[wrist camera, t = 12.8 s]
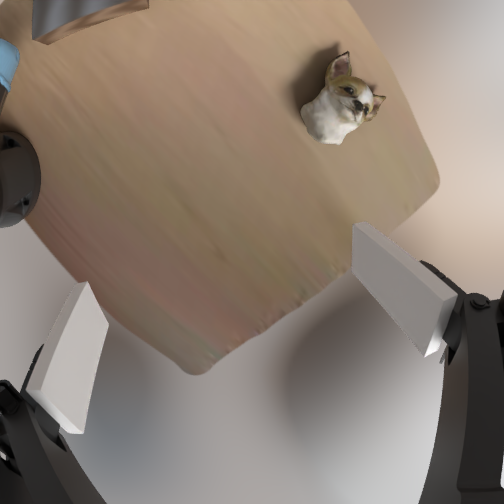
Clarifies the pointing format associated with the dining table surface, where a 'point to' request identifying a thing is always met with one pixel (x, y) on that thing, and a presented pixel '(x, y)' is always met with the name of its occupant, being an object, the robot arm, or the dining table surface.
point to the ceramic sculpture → (339, 104)
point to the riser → (76, 15)
